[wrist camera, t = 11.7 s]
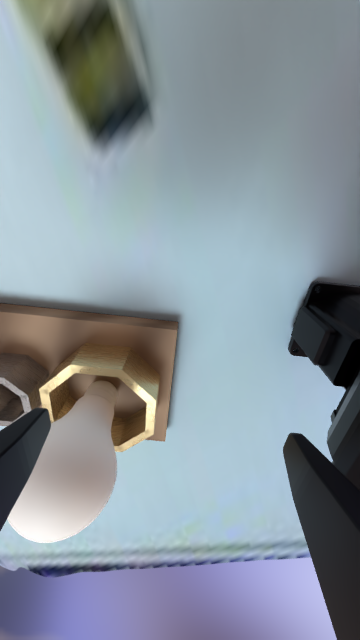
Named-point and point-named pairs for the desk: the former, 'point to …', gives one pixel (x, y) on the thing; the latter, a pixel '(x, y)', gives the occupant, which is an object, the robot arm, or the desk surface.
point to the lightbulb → (71, 471)
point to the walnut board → (83, 327)
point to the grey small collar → (19, 386)
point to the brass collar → (114, 365)
